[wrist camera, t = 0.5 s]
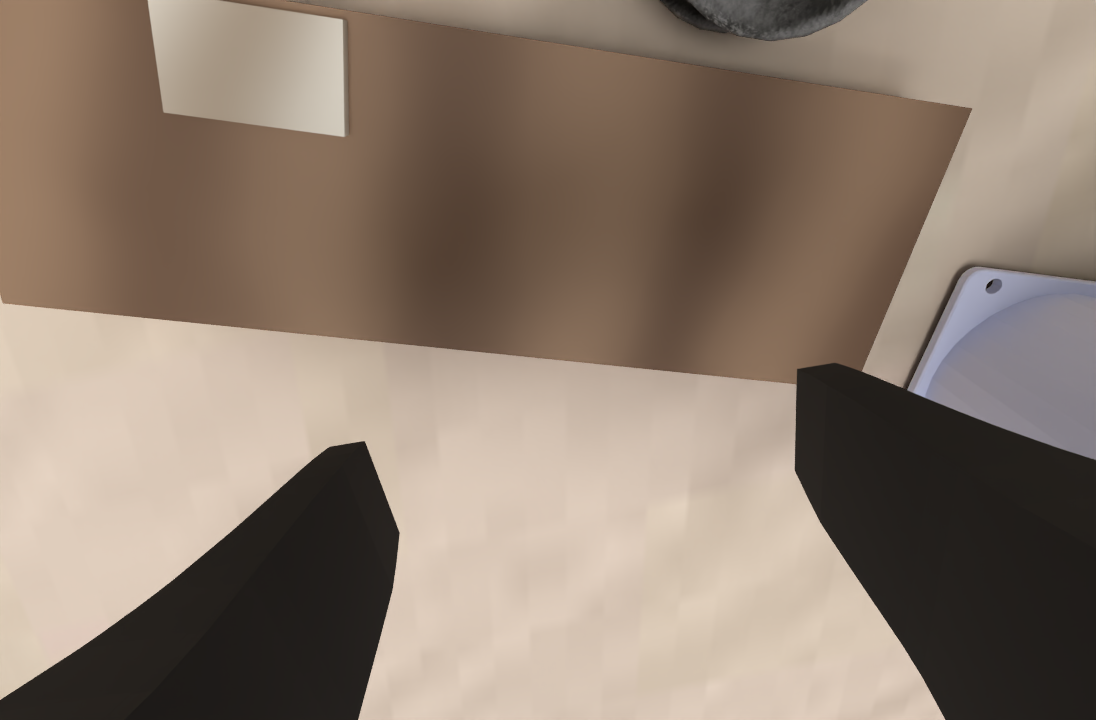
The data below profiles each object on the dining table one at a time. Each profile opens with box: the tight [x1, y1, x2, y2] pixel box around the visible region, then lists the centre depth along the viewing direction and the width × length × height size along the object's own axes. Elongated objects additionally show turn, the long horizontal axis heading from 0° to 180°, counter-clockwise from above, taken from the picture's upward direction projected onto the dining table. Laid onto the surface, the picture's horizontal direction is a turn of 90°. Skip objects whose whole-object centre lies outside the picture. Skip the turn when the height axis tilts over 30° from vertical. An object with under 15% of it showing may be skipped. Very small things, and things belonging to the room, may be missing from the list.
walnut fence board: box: [0, 0, 972, 384], centre depth 16 cm, size 24×8×3 cm, turn 82°
